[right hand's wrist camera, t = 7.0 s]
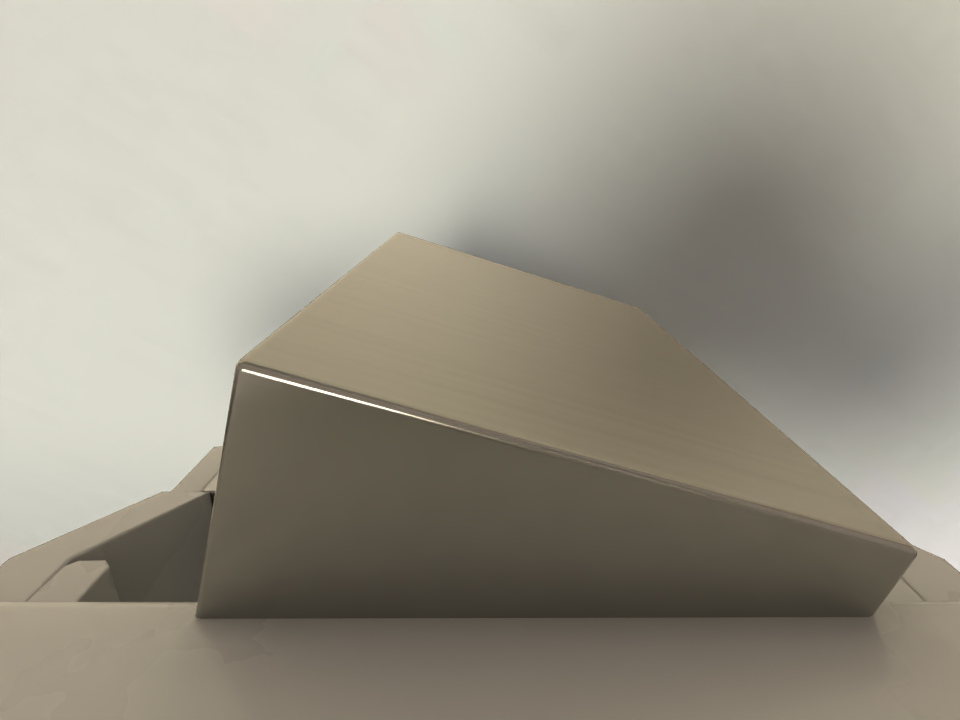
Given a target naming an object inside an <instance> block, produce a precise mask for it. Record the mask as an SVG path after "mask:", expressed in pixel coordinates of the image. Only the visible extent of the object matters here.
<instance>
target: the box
mask: <svg viewBox="0 0 960 720" xmlns="http://www.w3.org/2000/svg"><path fill="white" fill-rule="evenodd" d="M916 557H917V550H916V548H915V547H914V546H913V545H912V544H910V543H909V542H908V541H907V540H906V539H905V538H903V537H902V536H901V535H900V534H899V533H898V532H897V531H895V530H894V529H893V528H892V527H891V526H890V525H889V524H887V523H886V522H885V521H884V520H883V519H882V518H880V517H879V516H878V515H877V514H876V513H875V512H874V511H872V510H871V509H870V508H869V507H868V506H867V505H866V504H864V503H863V502H862V501H861V500H860V499H859V498H857V497H856V496H855V495H854V494H853V493H852V492H851V491H849V490H848V489H847V488H846V487H845V486H844V485H842V484H841V483H840V482H839V481H838V480H837V479H836V478H834V477H833V476H832V475H831V474H830V473H829V472H828V471H826V470H825V469H824V468H823V467H822V466H821V465H819V464H818V463H817V462H816V461H815V460H814V459H813V458H811V457H810V456H809V455H808V454H807V453H806V452H805V451H803V450H802V449H801V448H800V447H799V446H798V445H796V444H795V443H794V442H793V441H792V440H791V439H790V438H788V437H787V436H786V435H785V434H784V433H783V432H781V431H780V430H779V429H778V428H777V427H776V426H775V425H773V424H772V423H771V422H770V421H769V420H768V419H767V418H765V417H764V416H763V415H762V414H761V413H760V412H758V411H757V410H756V409H755V408H754V407H753V406H752V405H750V404H749V403H748V402H747V401H746V400H745V399H744V398H742V397H741V396H740V395H739V394H738V393H737V392H735V391H734V390H733V389H732V388H731V387H730V386H729V385H727V384H726V383H725V382H724V381H723V380H722V379H720V378H719V377H718V376H717V375H716V374H715V373H714V372H712V371H711V370H710V369H709V368H708V367H707V366H706V365H704V364H703V363H702V362H701V361H700V360H699V359H697V358H696V357H695V356H694V355H693V354H692V353H691V352H689V351H688V350H687V349H686V348H685V347H684V346H683V345H681V344H680V343H679V342H678V341H677V340H676V339H674V338H673V337H672V336H671V335H670V334H669V333H668V332H666V331H665V330H664V329H663V328H662V327H661V326H659V325H658V324H657V323H656V322H655V321H654V320H653V319H651V318H650V317H649V316H648V315H647V314H646V313H645V312H643V311H642V310H641V309H640V308H638V307H635V306H632V305H628V304H625V303H622V302H619V301H616V300H613V299H609V298H606V297H603V296H600V295H597V294H594V293H590V292H587V291H584V290H581V289H578V288H574V287H571V286H568V285H565V284H562V283H559V282H555V281H552V280H549V279H546V278H543V277H540V276H536V275H533V274H530V273H527V272H524V271H520V270H517V269H514V268H511V267H508V266H505V265H501V264H498V263H495V262H492V261H489V260H486V259H482V258H479V257H476V256H473V255H470V254H466V253H463V252H460V251H457V250H454V249H451V248H447V247H444V246H441V245H438V244H435V243H432V242H428V241H425V240H422V239H419V238H416V237H413V236H409V235H406V234H403V233H396V234H395V235H394V236H393V237H391V238H390V239H389V240H388V241H386V242H385V243H384V244H383V245H381V246H380V247H379V248H378V249H376V250H375V251H374V252H373V253H372V254H370V255H369V256H368V257H367V258H365V259H364V260H363V261H362V262H360V263H359V264H358V265H357V266H355V267H354V268H353V269H352V270H350V271H349V272H348V273H347V274H345V275H344V276H343V277H342V278H341V279H339V280H338V281H337V282H336V283H334V284H333V285H332V286H331V287H329V288H328V289H327V290H326V291H324V292H323V293H322V294H321V295H319V296H318V297H317V298H316V299H315V300H313V301H312V302H311V303H310V304H308V305H307V306H306V307H305V308H303V309H302V310H301V311H300V312H298V313H297V314H296V315H295V316H293V317H292V318H291V319H290V320H288V321H287V322H286V323H285V324H284V325H282V326H281V327H280V328H279V329H277V330H276V331H275V332H274V333H272V334H271V335H270V336H269V337H267V338H266V339H265V340H264V341H262V342H261V343H260V344H259V345H258V346H256V347H255V348H254V349H253V350H251V351H250V352H249V353H248V354H246V355H245V356H244V357H243V358H241V359H240V360H239V362H238V363H237V365H236V368H235V374H234V380H233V386H232V392H231V399H230V405H229V411H228V417H227V423H226V429H225V435H224V442H223V448H222V454H221V460H220V466H219V472H218V478H217V484H216V491H215V497H214V503H213V509H212V515H211V521H210V527H209V534H208V540H207V546H206V552H205V558H204V564H203V570H202V577H201V583H200V589H199V595H198V601H197V607H196V614H195V617H196V618H199V619H334V618H724V617H870V616H873V615H874V613H875V612H876V611H877V609H878V608H879V607H880V605H881V604H882V603H883V601H884V600H885V599H886V597H887V596H888V595H889V593H890V592H891V590H892V589H893V588H894V586H895V585H896V584H897V582H898V581H899V580H900V578H901V577H902V576H903V574H904V573H905V572H906V570H907V569H908V568H909V566H910V565H911V564H912V562H913V561H914V560H915V558H916Z"/></svg>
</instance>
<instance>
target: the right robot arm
mask: <svg viewBox="0 0 960 720" xmlns="http://www.w3.org/2000/svg"><path fill="white" fill-rule="evenodd" d="M222 448H223V446H219V447H214V448H213V449H212V450H211V451H210V452H209V453H208V454H207V455H206V456H205V457H204V458H203V459H202V460H201V461H200V462H199V463H198V464H197V465H196V466H195V467H194V468H193V469H192V470H191V472H190V473H189V474H188V475H187V476H186V477H185V478H184V479H183V480H182V481H181V482H180V483H179V484H178V485H177V486H176V487H175V488H174V489H173V490H172V491H171V492H161V493H159V494H156V495H154V496H152V497H149V498H147V499H145V500H142V501H140V502H138V503H136V504H133V505H131V506H129V507H126V508H124V509H122V510H120V511H117V512H115V513H113V514H110V515H108V516H106V517H104V518H101V519H99V520H97V521H94V522H92V523H90V524H88V525H85V526H83V527H81V528H78V529H76V530H74V531H71V532H69V533H67V534H65V535H62V536H60V537H58V538H55V539H53V540H51V541H49V542H46V543H44V544H42V545H39V546H37V547H35V548H33V549H30V550H28V551H26V552H23V553H21V554H19V555H17V556H14V557H12V558H10V559H8V560H7V561H6V562H5V563H4V564H2V565H1V566H0V720H960V572H959V571H958V570H956V569H955V568H954V567H953V566H952V565H950V564H949V563H948V562H947V561H946V560H945V559H943V558H940V557H938V556H936V555H933V554H931V553H929V552H927V551H924V550H922V549H920V548H918V547H915V546H914V547H915V548H916V550H917V557H916V558H915V560H914V561H913V562H912V564H911V565H910V566H909V568H908V569H907V570H906V572H905V573H904V574H903V576H902V577H901V578H900V580H899V581H898V582H897V584H896V585H895V586H894V588H893V589H892V590H891V592H890V593H889V595H888V596H887V597H886V599H885V600H884V601H883V603H882V604H881V605H880V607H879V608H878V609H877V611H876V612H875V613H874V615H873V616H870V617H724V618H334V619H199V618H196V617H195V614H196V607H197V601H198V595H199V589H200V583H201V577H202V570H203V564H204V558H205V552H206V546H207V540H208V534H209V527H210V521H211V515H212V509H213V503H214V497H215V491H216V484H217V478H218V472H219V466H220V460H221V454H222Z"/></svg>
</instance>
